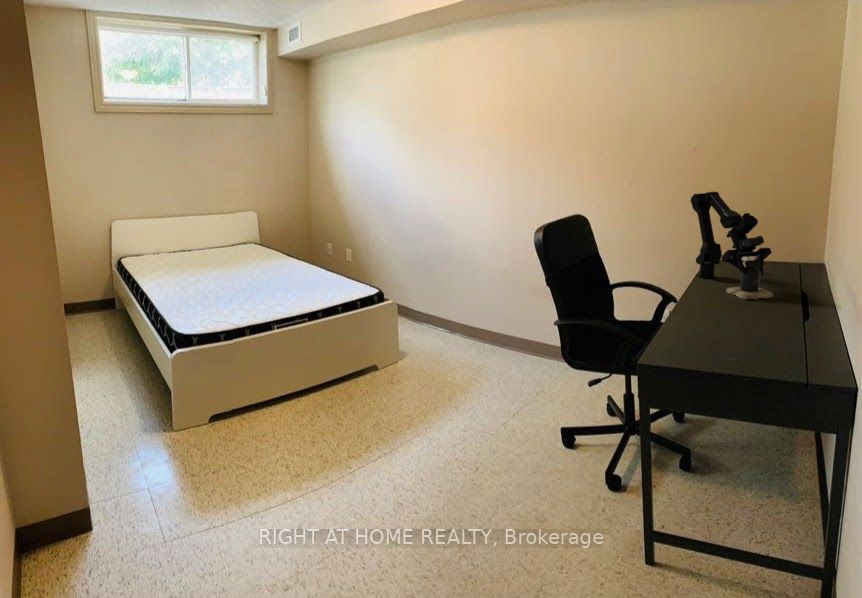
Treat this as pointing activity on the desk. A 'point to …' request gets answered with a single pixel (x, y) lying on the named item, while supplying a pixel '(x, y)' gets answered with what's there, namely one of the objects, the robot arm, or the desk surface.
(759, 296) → the base slab
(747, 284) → the supplement bottle
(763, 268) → the toy character
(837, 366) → the desk surface
